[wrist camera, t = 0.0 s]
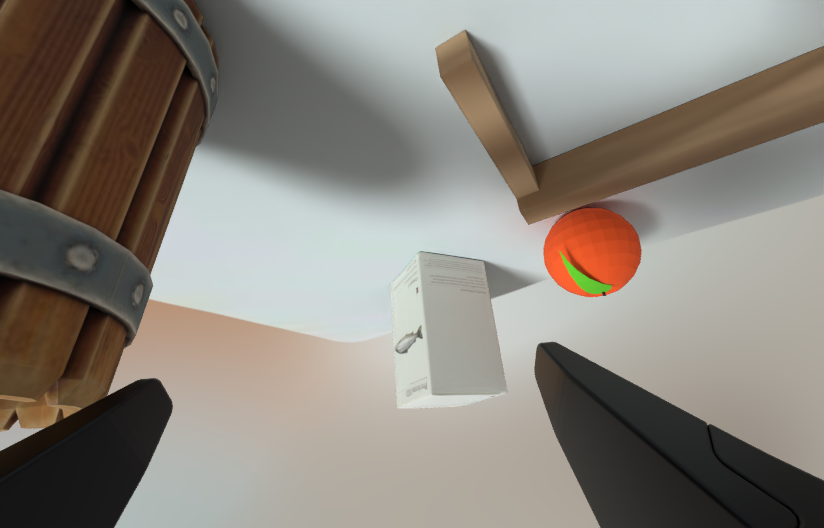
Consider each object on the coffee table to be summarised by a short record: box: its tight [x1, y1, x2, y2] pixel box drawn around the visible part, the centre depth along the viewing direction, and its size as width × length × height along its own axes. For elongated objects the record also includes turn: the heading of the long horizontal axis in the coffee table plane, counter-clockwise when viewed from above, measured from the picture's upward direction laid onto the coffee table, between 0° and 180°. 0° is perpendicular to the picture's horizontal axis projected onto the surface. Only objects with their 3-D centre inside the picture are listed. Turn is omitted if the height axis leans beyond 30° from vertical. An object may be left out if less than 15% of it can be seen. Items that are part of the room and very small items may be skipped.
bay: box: [435, 30, 824, 225], centre depth 17 cm, size 13×26×3 cm, turn 121°
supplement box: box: [391, 252, 507, 408], centre depth 36 cm, size 7×7×13 cm
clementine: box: [544, 208, 641, 297], centre depth 30 cm, size 8×7×7 cm
